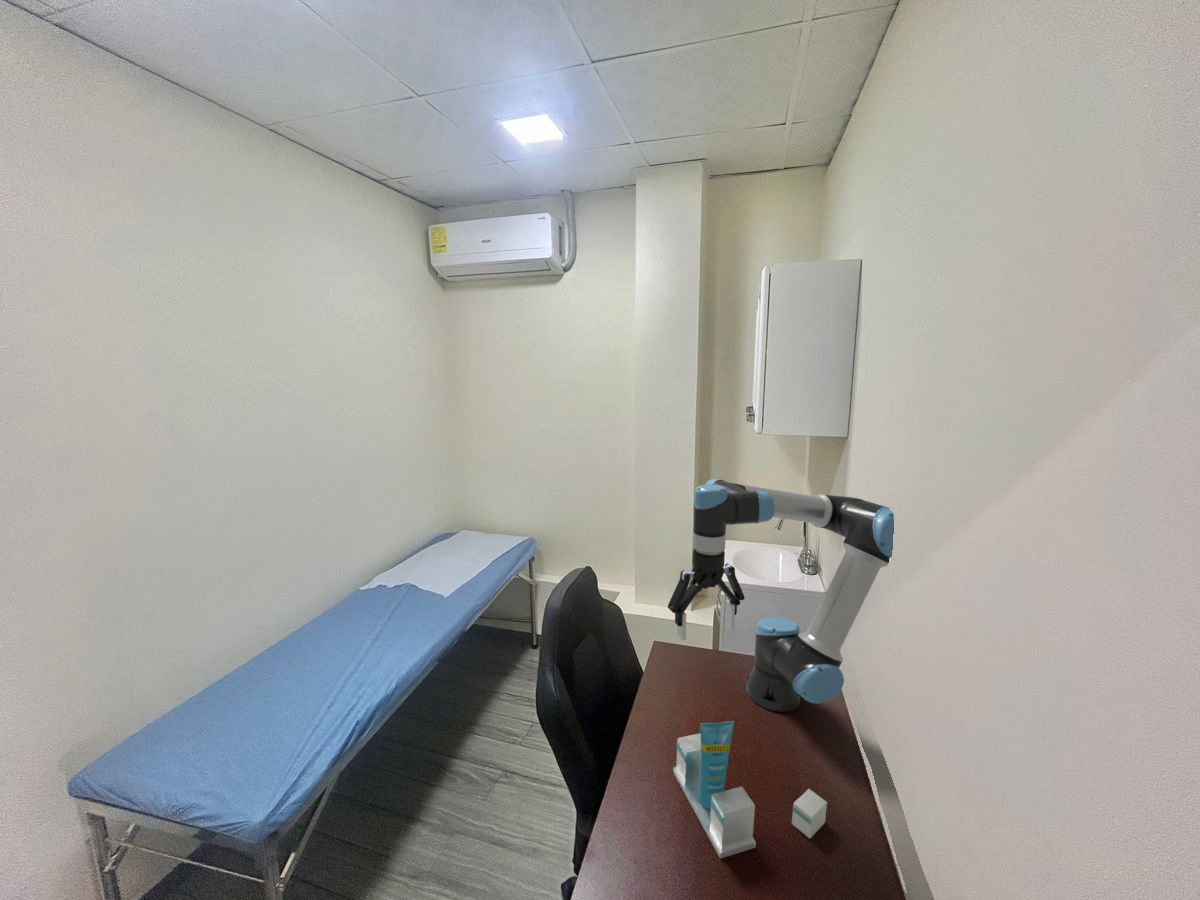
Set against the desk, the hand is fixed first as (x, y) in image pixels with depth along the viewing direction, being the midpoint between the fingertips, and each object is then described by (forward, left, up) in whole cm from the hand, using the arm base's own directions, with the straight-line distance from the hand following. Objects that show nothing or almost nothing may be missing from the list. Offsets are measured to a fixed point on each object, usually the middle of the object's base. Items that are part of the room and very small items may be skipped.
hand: (705, 632), depth 113 cm
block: (-12, +25, -31) cm, 42 cm away
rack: (+6, +16, -31) cm, 36 cm away
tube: (+6, +16, -30) cm, 35 cm away
